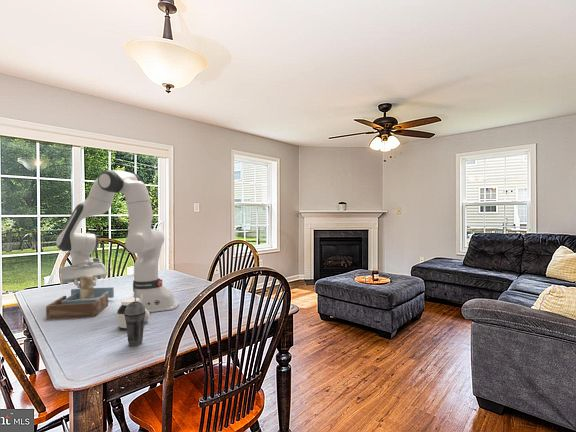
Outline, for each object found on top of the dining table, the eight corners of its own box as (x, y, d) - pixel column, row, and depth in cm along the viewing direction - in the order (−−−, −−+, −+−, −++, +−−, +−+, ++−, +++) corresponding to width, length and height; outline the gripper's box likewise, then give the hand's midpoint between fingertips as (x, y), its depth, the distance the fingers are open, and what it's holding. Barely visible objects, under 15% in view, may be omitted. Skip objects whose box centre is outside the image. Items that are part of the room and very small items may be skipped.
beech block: (91, 295, 166) (90, 274, 166) (93, 297, 162) (93, 276, 162) (79, 297, 162) (79, 276, 162) (82, 299, 159) (81, 277, 159)
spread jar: (115, 332, 129) (115, 303, 129) (121, 322, 140) (121, 295, 139) (147, 328, 132) (147, 301, 132) (151, 319, 143) (150, 293, 143)
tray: (73, 298, 170) (73, 288, 170) (114, 296, 175) (114, 286, 175) (56, 309, 152) (56, 297, 152) (103, 306, 157) (102, 295, 156)
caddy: (63, 307, 159) (63, 295, 159) (107, 305, 164) (107, 293, 164) (46, 319, 143) (46, 306, 143) (95, 316, 147) (95, 303, 147)
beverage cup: (122, 349, 113) (121, 293, 113) (126, 341, 120) (126, 288, 120) (144, 347, 115) (143, 291, 115) (147, 338, 122) (147, 287, 122)
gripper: (59, 263, 160) (62, 286, 153) (104, 258, 174) (110, 279, 167) (57, 270, 163) (61, 293, 156) (102, 265, 177) (107, 286, 170)
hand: (86, 286), depth 162 cm, fingers closed on beech block, 5 cm apart
